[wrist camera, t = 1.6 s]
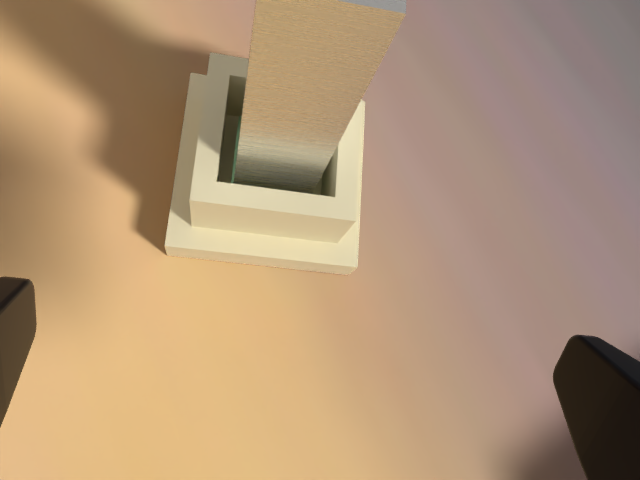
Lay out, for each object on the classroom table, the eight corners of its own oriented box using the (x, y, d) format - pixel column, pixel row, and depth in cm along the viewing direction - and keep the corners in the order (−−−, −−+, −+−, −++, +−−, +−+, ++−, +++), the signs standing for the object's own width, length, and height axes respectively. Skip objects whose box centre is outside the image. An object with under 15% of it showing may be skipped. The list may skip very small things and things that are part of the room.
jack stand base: (348, 275, 24) (379, 248, 19) (167, 255, 22) (158, 222, 18) (356, 117, 26) (386, 62, 22) (191, 91, 25) (188, 27, 20)
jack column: (307, 209, 22) (410, 18, 11) (229, 199, 22) (252, -12, 11) (313, 138, 23) (412, -104, 12) (237, 127, 23) (268, -138, 12)
